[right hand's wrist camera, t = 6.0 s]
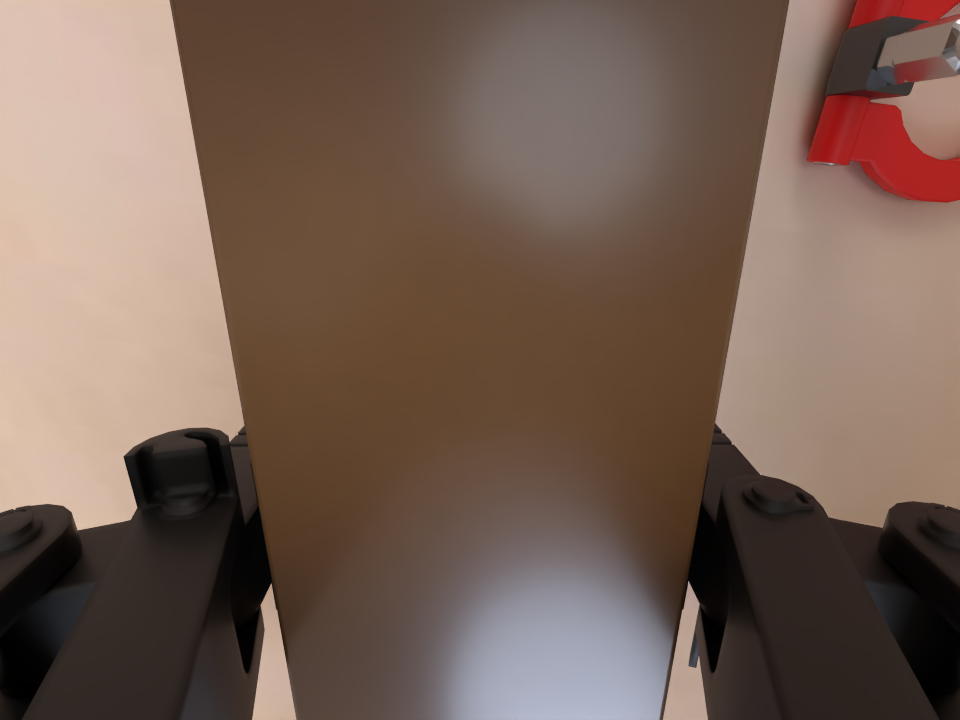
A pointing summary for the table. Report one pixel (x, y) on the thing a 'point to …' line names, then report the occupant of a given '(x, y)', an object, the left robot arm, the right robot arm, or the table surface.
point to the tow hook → (889, 95)
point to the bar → (479, 329)
